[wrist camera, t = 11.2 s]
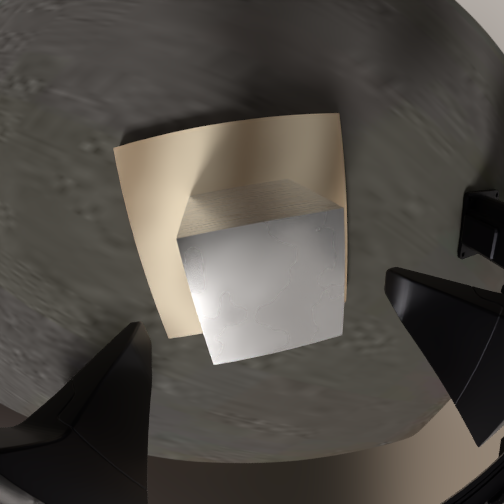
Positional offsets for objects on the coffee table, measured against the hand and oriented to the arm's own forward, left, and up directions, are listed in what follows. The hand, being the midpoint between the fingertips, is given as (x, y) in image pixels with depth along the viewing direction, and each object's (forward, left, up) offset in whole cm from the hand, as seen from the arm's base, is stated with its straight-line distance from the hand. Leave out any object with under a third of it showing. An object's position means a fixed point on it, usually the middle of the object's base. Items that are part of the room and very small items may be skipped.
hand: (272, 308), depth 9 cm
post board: (0, 0, -9) cm, 9 cm away
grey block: (0, 0, -8) cm, 8 cm away
